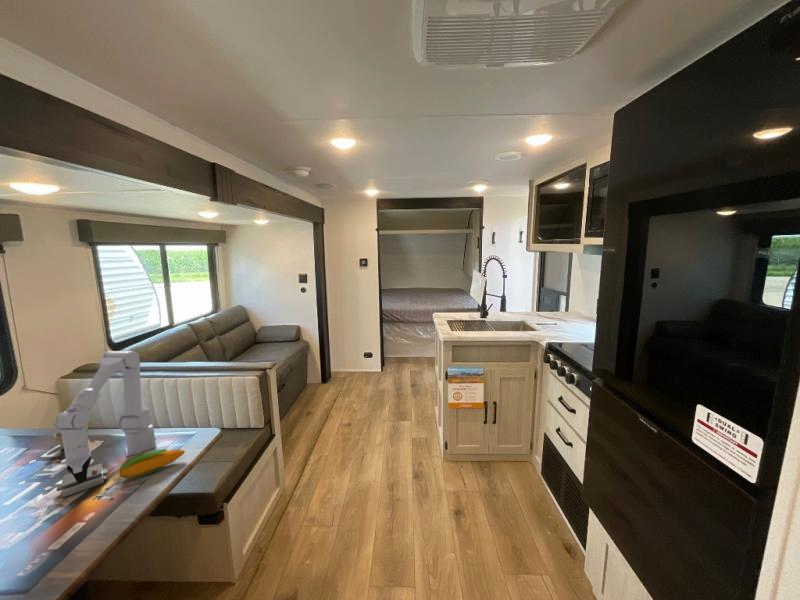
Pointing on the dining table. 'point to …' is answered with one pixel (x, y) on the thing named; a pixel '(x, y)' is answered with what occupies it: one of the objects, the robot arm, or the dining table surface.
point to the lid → (91, 473)
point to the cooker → (83, 485)
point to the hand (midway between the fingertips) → (82, 480)
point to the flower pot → (59, 437)
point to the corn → (148, 463)
